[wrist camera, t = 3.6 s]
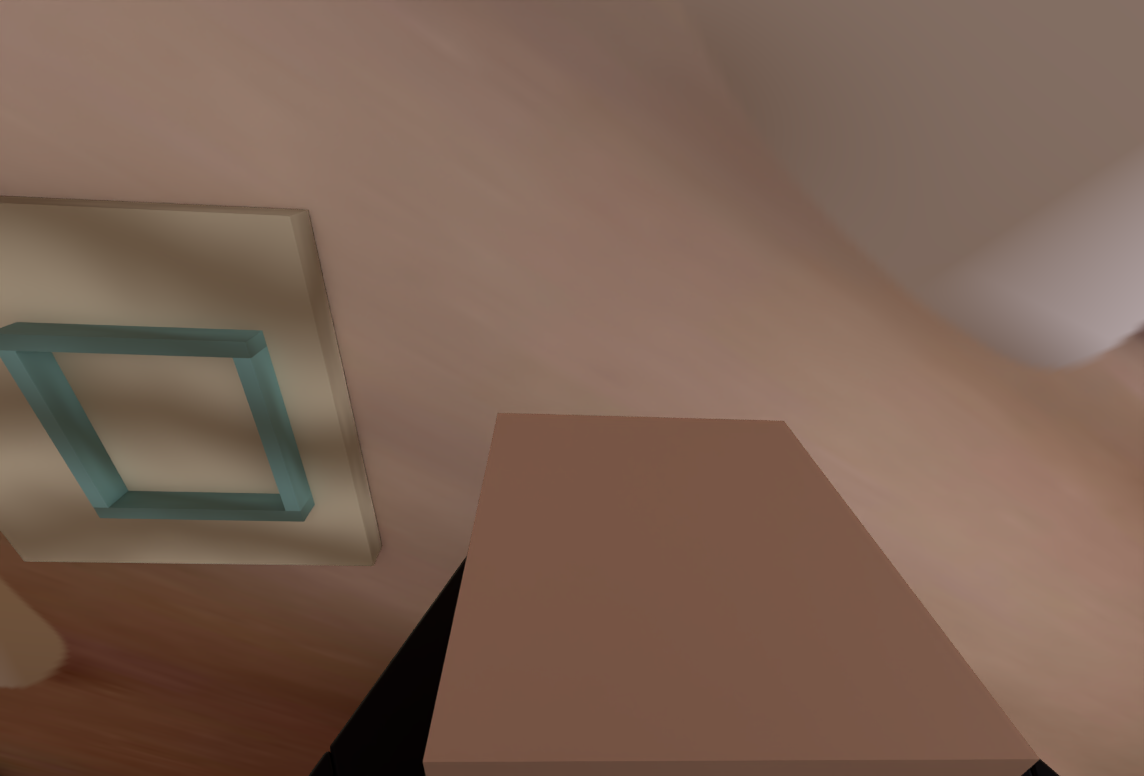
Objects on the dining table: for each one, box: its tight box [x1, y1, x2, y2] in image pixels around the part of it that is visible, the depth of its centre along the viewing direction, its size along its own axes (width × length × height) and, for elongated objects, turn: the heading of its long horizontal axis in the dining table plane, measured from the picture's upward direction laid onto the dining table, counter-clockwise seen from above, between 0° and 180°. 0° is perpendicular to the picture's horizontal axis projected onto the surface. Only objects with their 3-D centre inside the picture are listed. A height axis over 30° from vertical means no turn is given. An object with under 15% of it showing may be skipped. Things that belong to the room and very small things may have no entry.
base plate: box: [0, 196, 382, 566], centre depth 18 cm, size 16×16×2 cm
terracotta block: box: [423, 413, 1040, 776], centre depth 7 cm, size 5×5×5 cm
